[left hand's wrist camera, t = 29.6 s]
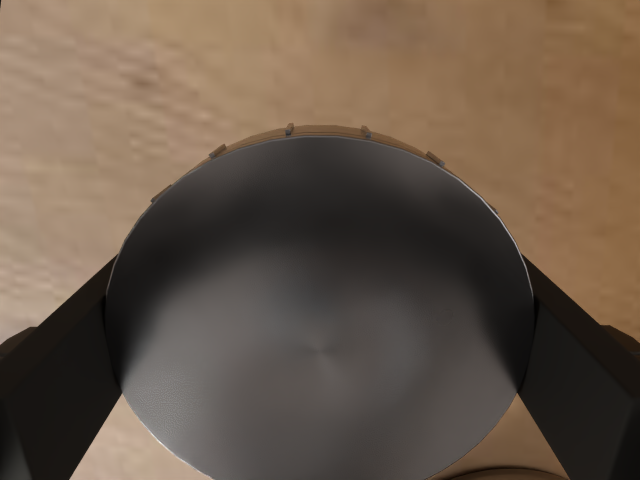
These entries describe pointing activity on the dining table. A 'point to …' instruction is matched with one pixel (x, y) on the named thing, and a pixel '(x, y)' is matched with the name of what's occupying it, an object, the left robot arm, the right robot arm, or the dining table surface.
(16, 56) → the dining table surface
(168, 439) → the lid
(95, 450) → the dining table surface
